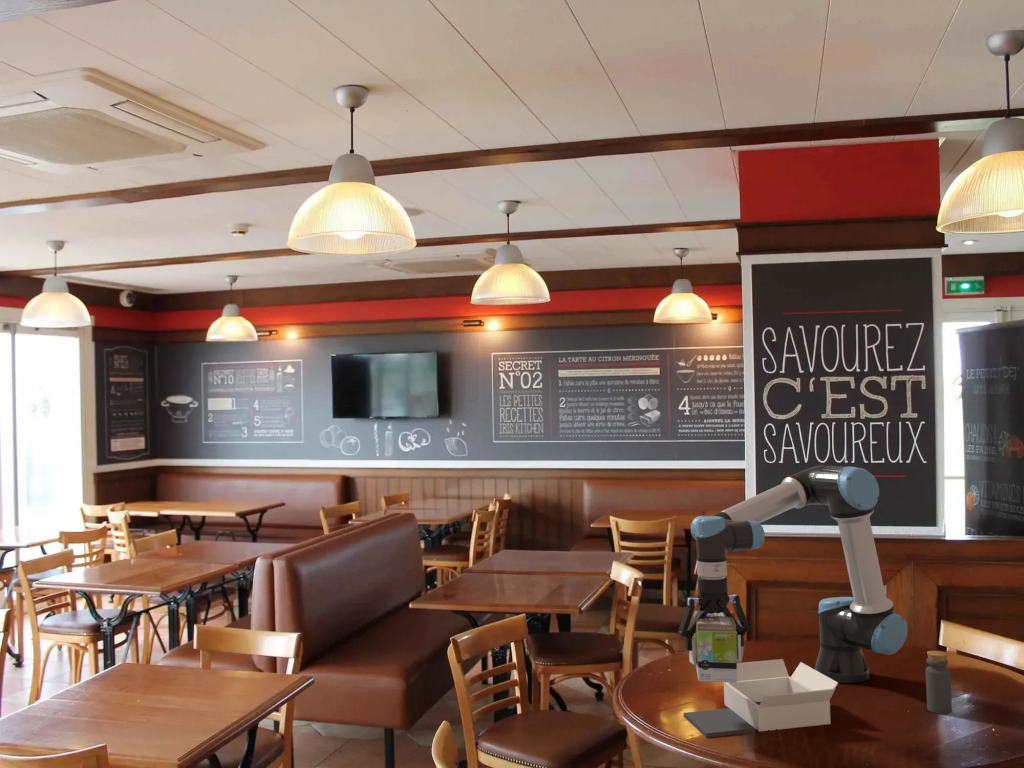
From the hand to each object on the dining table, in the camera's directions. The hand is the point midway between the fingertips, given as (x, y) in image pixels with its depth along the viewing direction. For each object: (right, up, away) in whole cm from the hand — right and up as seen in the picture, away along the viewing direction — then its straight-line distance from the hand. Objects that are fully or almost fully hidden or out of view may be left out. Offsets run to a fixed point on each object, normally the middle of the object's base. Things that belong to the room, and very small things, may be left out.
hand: (715, 661), depth 219 cm
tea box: (0, -3, 0) cm, 3 cm away
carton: (+19, -16, +6) cm, 25 cm away
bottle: (+60, -15, +4) cm, 62 cm away
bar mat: (+1, -16, -1) cm, 16 cm away
